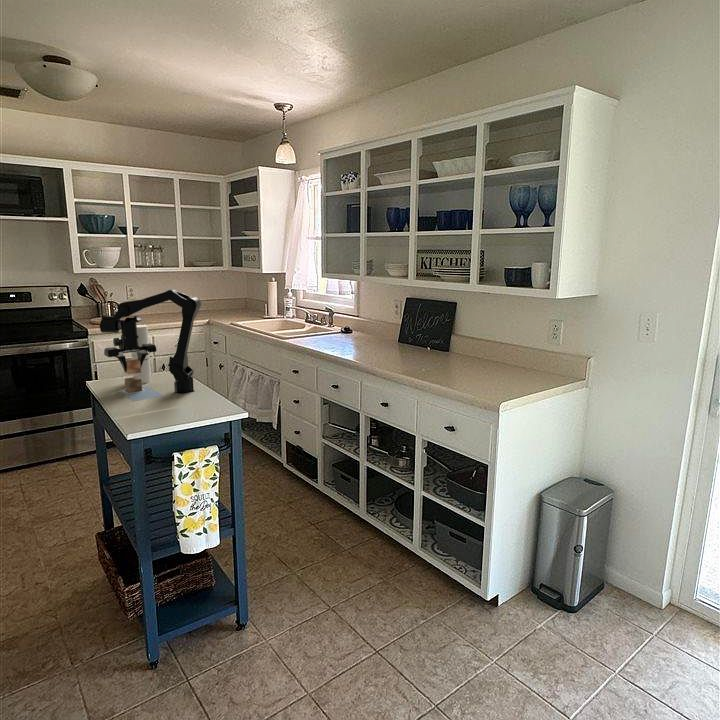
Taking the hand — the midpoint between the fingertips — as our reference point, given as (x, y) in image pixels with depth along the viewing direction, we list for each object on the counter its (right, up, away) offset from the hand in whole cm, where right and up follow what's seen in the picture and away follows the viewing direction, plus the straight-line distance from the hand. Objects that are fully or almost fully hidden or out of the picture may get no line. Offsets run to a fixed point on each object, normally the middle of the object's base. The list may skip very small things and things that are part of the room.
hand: (132, 370), depth 213 cm
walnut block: (0, -8, +2) cm, 8 cm away
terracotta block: (0, -1, 0) cm, 1 cm away
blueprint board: (+4, -10, -2) cm, 10 cm away
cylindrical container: (-3, -6, +17) cm, 18 cm away
